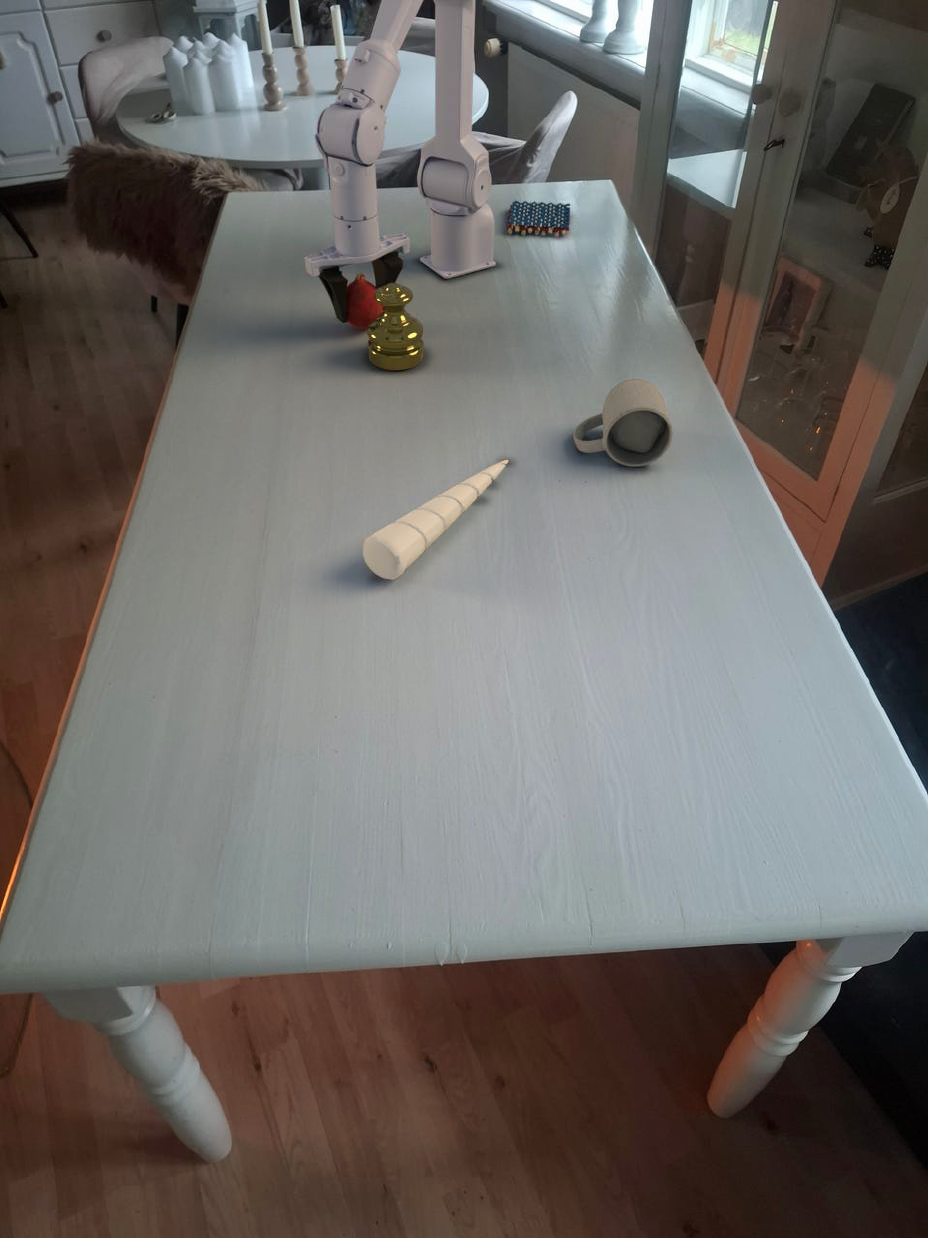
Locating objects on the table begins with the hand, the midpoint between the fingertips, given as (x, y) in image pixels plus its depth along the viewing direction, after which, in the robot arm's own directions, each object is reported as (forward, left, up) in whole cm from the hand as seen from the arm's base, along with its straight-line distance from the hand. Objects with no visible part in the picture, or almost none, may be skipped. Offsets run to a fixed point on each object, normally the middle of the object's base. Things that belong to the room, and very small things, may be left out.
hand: (362, 313), depth 119 cm
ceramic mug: (-12, +41, -3) cm, 43 cm away
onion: (0, 0, -3) cm, 3 cm away
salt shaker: (0, +9, -3) cm, 9 cm away
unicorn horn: (+13, +41, -3) cm, 43 cm away
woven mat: (-43, -17, -3) cm, 46 cm away
